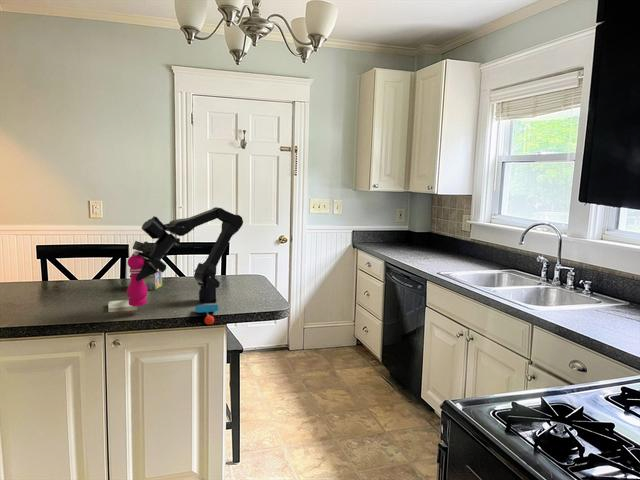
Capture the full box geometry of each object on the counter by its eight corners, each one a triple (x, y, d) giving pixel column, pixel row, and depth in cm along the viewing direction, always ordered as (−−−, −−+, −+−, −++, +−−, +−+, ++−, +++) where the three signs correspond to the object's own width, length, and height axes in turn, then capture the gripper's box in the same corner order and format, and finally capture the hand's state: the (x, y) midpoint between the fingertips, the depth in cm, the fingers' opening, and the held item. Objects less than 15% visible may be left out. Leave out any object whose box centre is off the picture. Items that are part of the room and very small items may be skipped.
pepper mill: (148, 305, 171) (146, 252, 168) (126, 307, 169) (124, 253, 166) (148, 300, 178) (146, 249, 175) (127, 301, 176) (125, 249, 173)
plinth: (135, 303, 187) (135, 299, 187) (137, 310, 178) (137, 306, 178) (108, 305, 183) (108, 301, 183) (108, 312, 174) (108, 308, 174)
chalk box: (162, 286, 217) (162, 254, 215) (155, 290, 208) (154, 258, 206) (142, 285, 217) (142, 253, 215) (134, 290, 208) (134, 257, 206)
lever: (195, 324, 178) (199, 325, 162) (195, 306, 179) (199, 305, 163) (214, 323, 181) (220, 324, 164) (213, 305, 182) (219, 304, 165)
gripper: (136, 230, 179) (107, 261, 173) (157, 235, 166) (126, 270, 160) (156, 248, 186) (129, 279, 180) (178, 255, 172) (150, 289, 166)
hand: (133, 279), depth 171 cm, fingers closed on pepper mill, 5 cm apart
